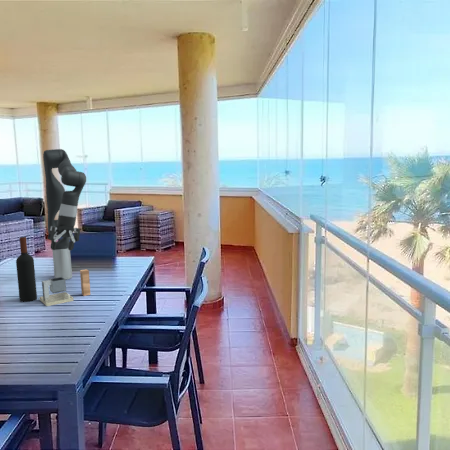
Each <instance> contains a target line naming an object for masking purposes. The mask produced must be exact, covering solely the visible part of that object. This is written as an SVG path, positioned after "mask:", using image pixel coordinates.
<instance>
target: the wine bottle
mask: <svg viewBox="0 0 450 450" xmlns="http://www.w3.org/2000/svg"><path fill="white" fill-rule="evenodd" d="M27 244H28V242H27V236H20V237H19V246H20V255H19V256H18V257H17V258H16V259H15V264H16V266H15V267H16V275H17V285H18V287H17V288H18V297H19V298H18V299H19V303H30V302H34V301H37V300H38V294H37V284H36V283H37V282H36V280H37V279H36V270H35V259H34V257H33V256H32V255H30V254H29V253H28V245H27Z"/></svg>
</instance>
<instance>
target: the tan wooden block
mask: <svg viewBox="0 0 450 450" xmlns="http://www.w3.org/2000/svg"><path fill="white" fill-rule="evenodd" d="M79 272H80V273H79V276H80V289H81V295H82V296H83V297H85V296H90V295H91V282H90V279H91V278H90V270H89V269H81V270H79Z"/></svg>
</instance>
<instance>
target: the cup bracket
mask: <svg viewBox="0 0 450 450" xmlns="http://www.w3.org/2000/svg"><path fill="white" fill-rule="evenodd" d="M66 284H67V283H66V280H65V279H64V278H62V277H59V278H55V277H54V278H49V279H47V280H42V281H41V286H42V287H41V289H42V296H39V301H40V302H42V304H44V306H46V307H50V306H55V305H60V304H64V303H70V302H74V297H73V296H72V295H70V294H69V293H68V292H66V291H67V285H66ZM50 292H51V293H52V294H50Z"/></svg>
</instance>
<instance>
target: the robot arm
mask: <svg viewBox="0 0 450 450" xmlns="http://www.w3.org/2000/svg"><path fill="white" fill-rule="evenodd" d="M42 158H43V160H42V161H43V167H44V174H45V175H44V177H45V197H46V207H47V233H48V235H47V240H50V249H51V250H52V262H53V274H54V278H59V277H62V278H64V279H65V281H66V280H69V279H73V271H72V258H71V257H72V256H71V251H73V249H74V247H75V243H76V242H79V241H80V235H81V234H80V233H81V228H78V227H75V225H76V220H77V215H78V206H79V199H80V197H81V193H82V191H83V189H84V187H85V185H86V183H87V175H86V174H85V173H84V172H82V171H77V168H75V166H74V165H72V163H71V160H70V158H69V156H68V154H67V151H65V150H64V149H62V148H58V149H54V148H53V149H46V150H44V151H43V153H42ZM53 169H57V172H58V173H59V175H60V176H61V177H60V181H59V180H58V179H57V177H56V176H55V174H54V173H53ZM64 186H66V187H67V186H68V187H74V189H72V190H65V188H64ZM57 214H58V216H57ZM56 216H57V219H56Z"/></svg>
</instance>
